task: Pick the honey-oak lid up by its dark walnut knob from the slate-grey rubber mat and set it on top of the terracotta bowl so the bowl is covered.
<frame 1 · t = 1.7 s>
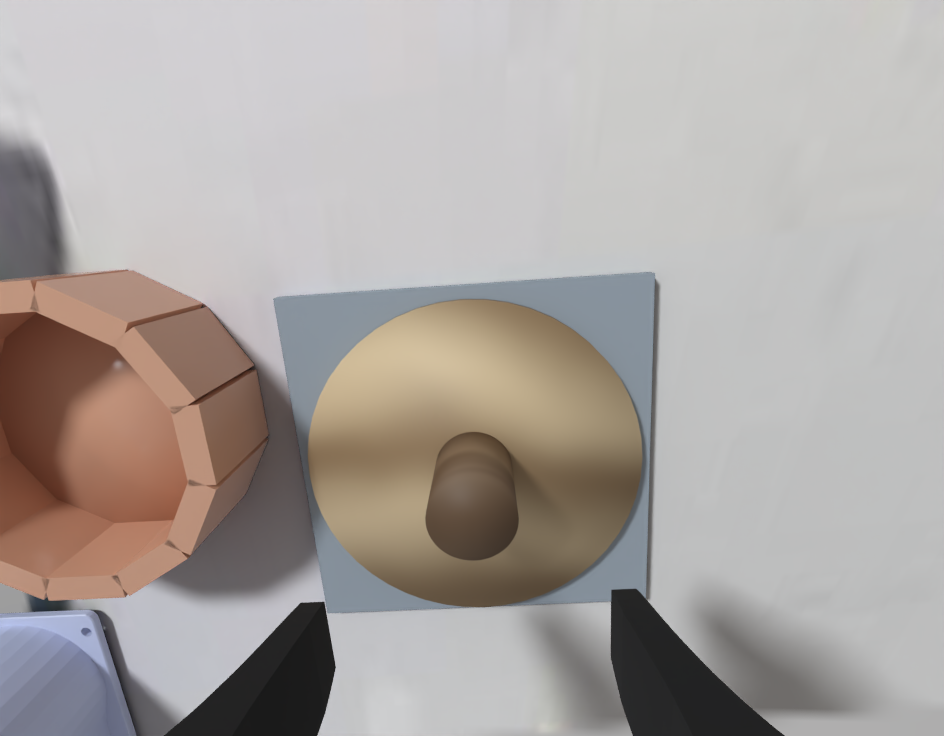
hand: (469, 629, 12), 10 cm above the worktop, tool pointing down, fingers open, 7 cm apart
rubber mat: (474, 455, 22), on the worktop
terracotta bowl: (128, 410, 22), on the worktop
oak lid: (474, 460, 21), point 1 cm above the worktop, touching rubber mat
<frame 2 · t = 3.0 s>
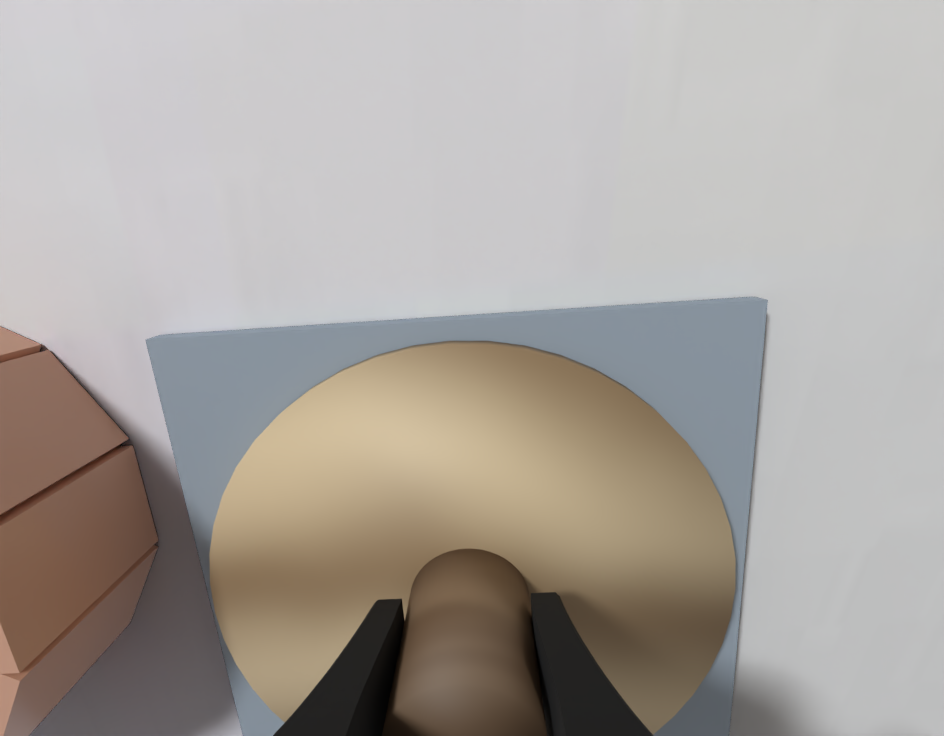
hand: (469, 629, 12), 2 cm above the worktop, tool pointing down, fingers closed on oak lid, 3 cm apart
rubber mat: (471, 570, 15), on the worktop
oak lid: (470, 584, 14), point 1 cm above the worktop, touching gripper, rubber mat
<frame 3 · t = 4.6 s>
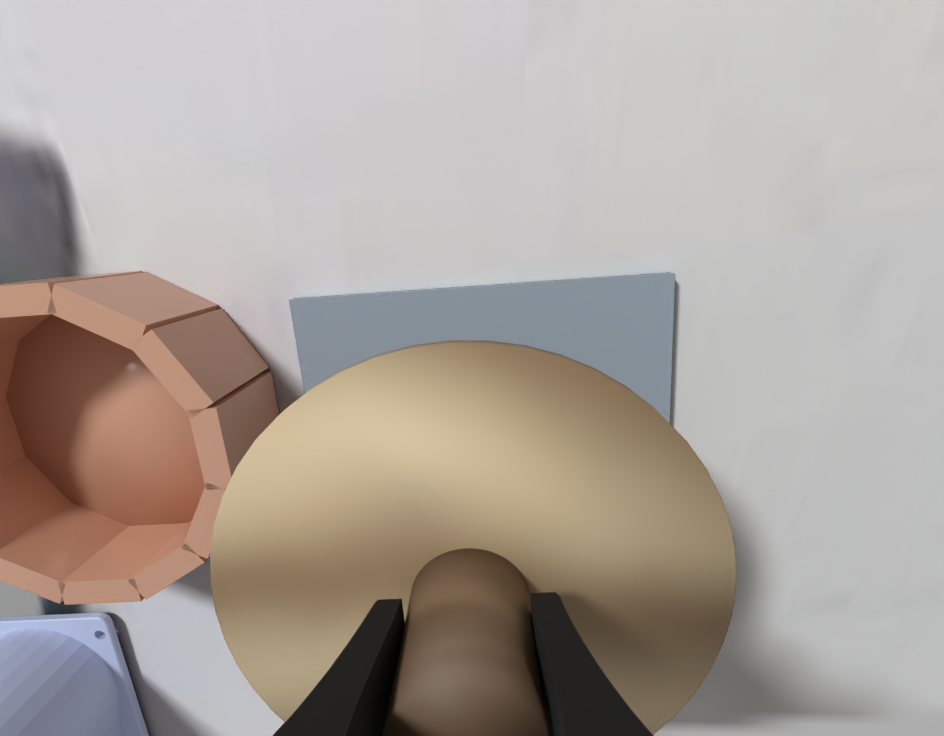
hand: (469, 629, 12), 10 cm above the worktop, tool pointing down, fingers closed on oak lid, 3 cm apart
rubber mat: (490, 457, 22), on the worktop
terracotta bowl: (142, 413, 22), on the worktop
oak lid: (470, 584, 14), point 8 cm above the worktop, touching gripper
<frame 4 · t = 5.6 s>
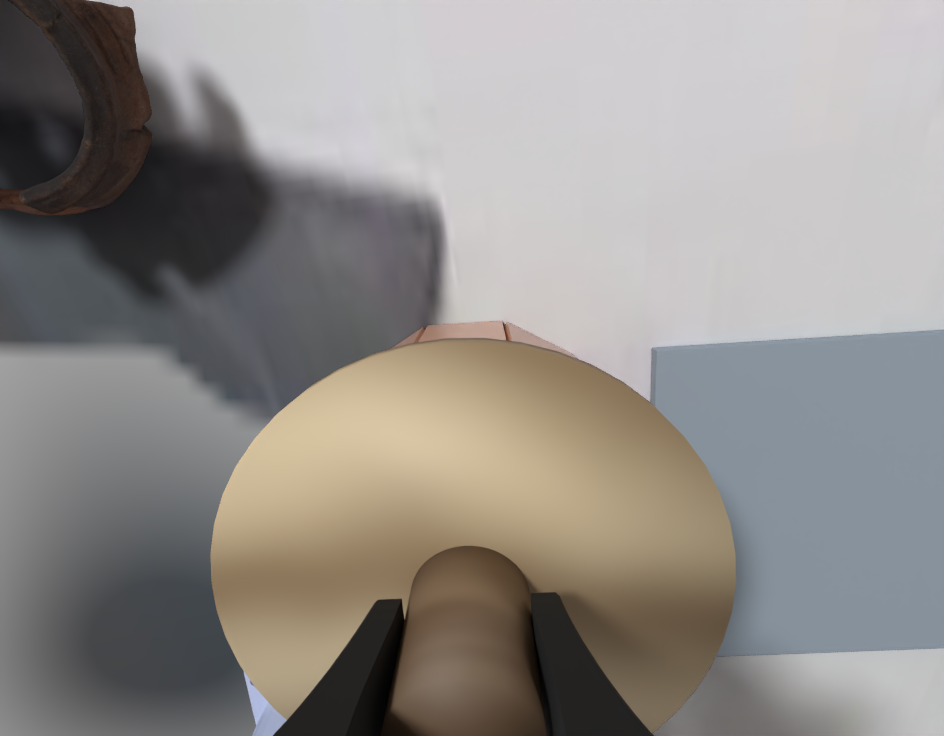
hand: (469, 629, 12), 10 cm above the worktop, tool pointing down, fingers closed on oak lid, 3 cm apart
rubber mat: (820, 503, 22), on the worktop
terracotta bowl: (474, 459, 22), on the worktop
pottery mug: (32, 76, 18), on the worktop
oak lid: (470, 582, 14), point 8 cm above the worktop, touching gripper
when the fingers open (7 cm above the worktop, at t = 6.3 s): oak lid drops 1 cm, resting on terracotta bowl.
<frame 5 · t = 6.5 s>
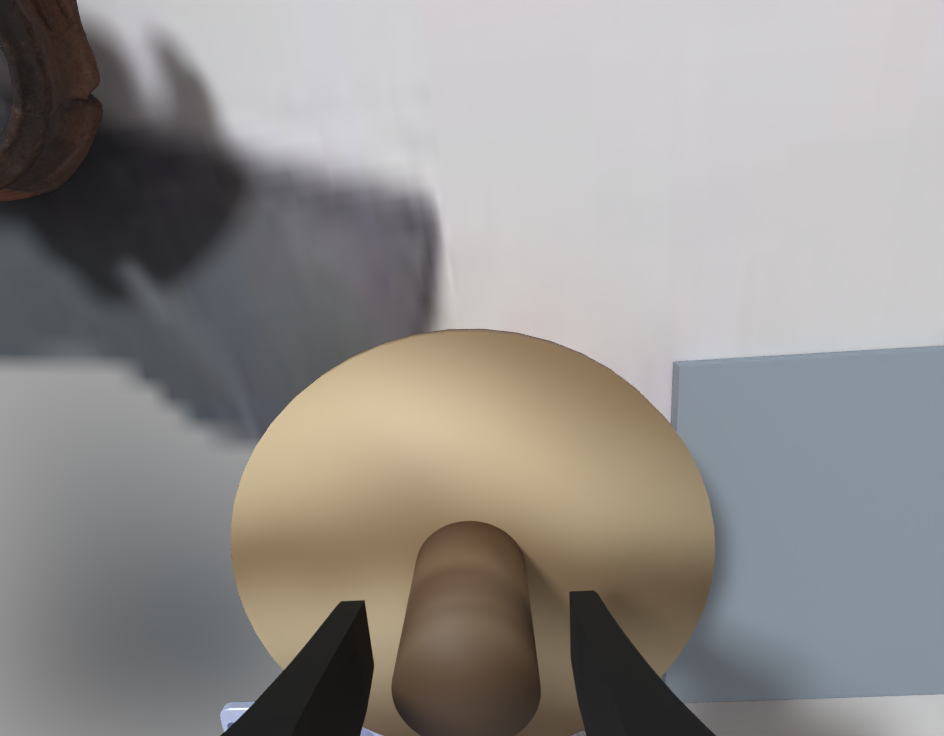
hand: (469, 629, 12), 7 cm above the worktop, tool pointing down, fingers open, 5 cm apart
rubber mat: (858, 533, 20), on the worktop
oak lid: (470, 556, 15), point 4 cm above the worktop, touching terracotta bowl
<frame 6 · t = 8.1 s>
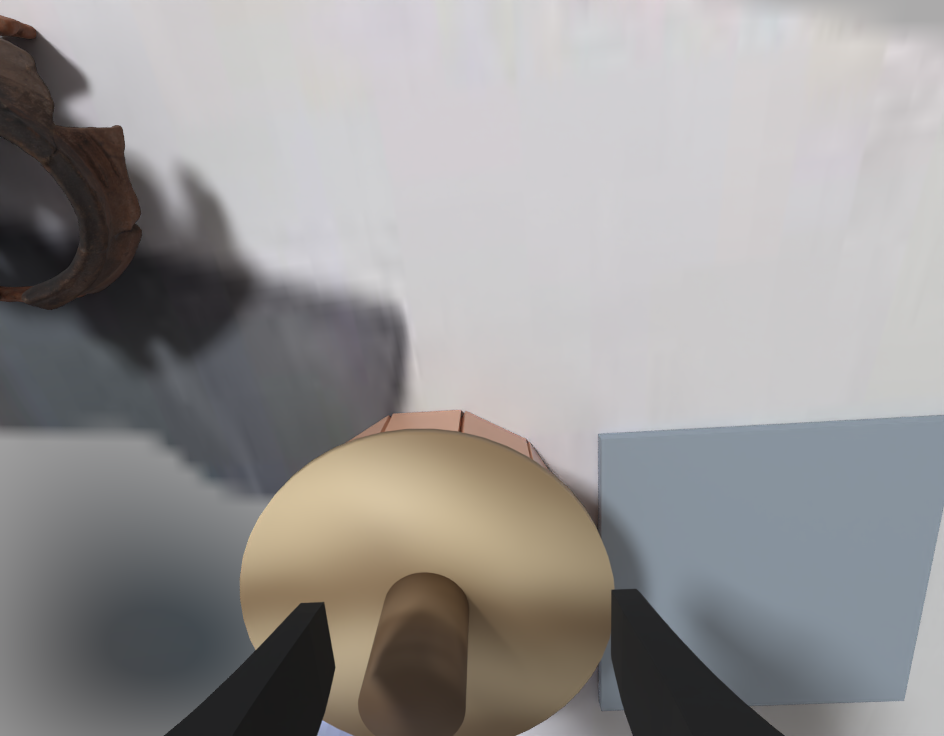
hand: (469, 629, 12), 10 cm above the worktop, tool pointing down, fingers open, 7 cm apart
rubber mat: (756, 571, 24), on the worktop
terracotta bowl: (438, 530, 24), on the worktop
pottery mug: (32, 171, 20), on the worktop
oak lid: (428, 597, 19), point 4 cm above the worktop, touching terracotta bowl
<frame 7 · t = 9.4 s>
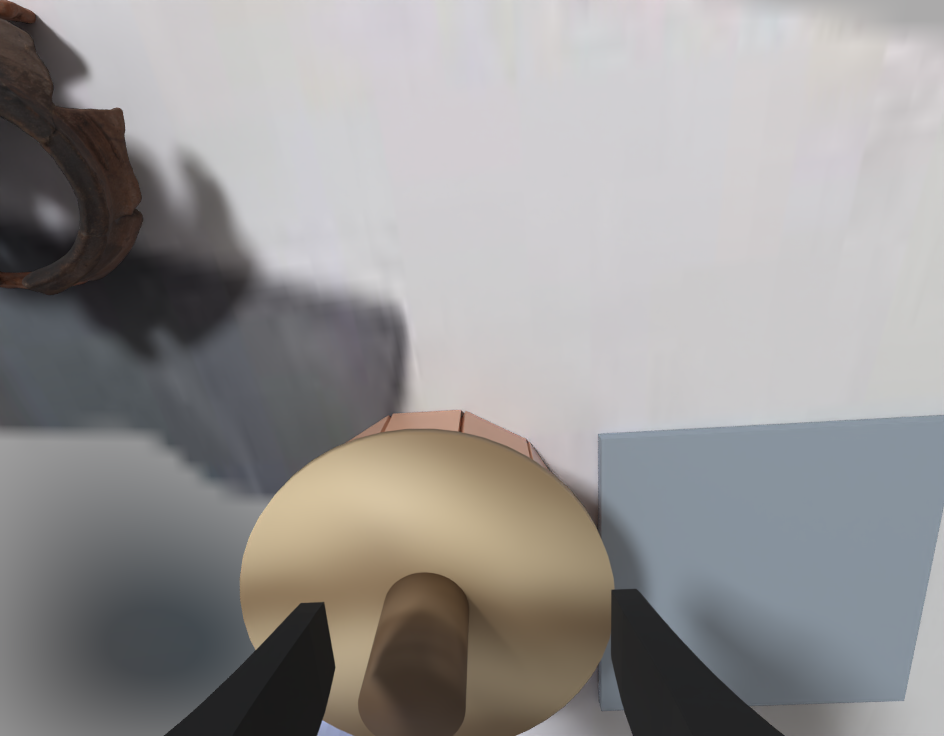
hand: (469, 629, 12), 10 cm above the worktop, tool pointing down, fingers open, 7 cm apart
rubber mat: (756, 571, 24), on the worktop
terracotta bowl: (438, 530, 24), on the worktop
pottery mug: (32, 158, 20), on the worktop
oak lid: (428, 597, 19), point 4 cm above the worktop, touching terracotta bowl
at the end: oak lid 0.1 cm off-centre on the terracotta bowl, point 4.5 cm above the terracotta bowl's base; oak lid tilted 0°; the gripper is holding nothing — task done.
